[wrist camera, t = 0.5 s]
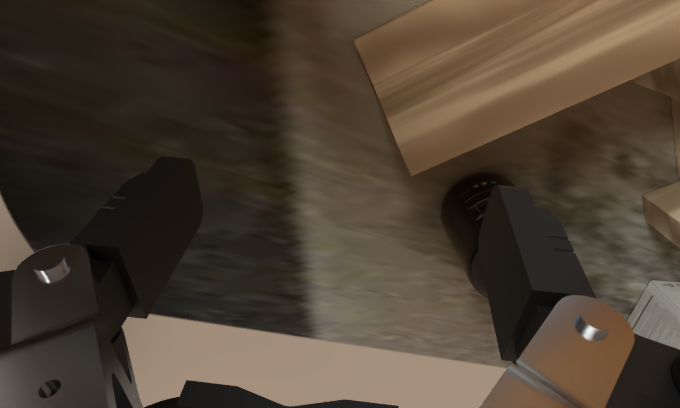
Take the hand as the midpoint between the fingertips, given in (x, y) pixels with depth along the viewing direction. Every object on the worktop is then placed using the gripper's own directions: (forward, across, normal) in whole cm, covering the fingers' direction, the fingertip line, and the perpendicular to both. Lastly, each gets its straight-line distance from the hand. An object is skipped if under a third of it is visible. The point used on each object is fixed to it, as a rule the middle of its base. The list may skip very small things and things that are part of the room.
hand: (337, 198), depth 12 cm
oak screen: (+23, -8, 0) cm, 24 cm away
